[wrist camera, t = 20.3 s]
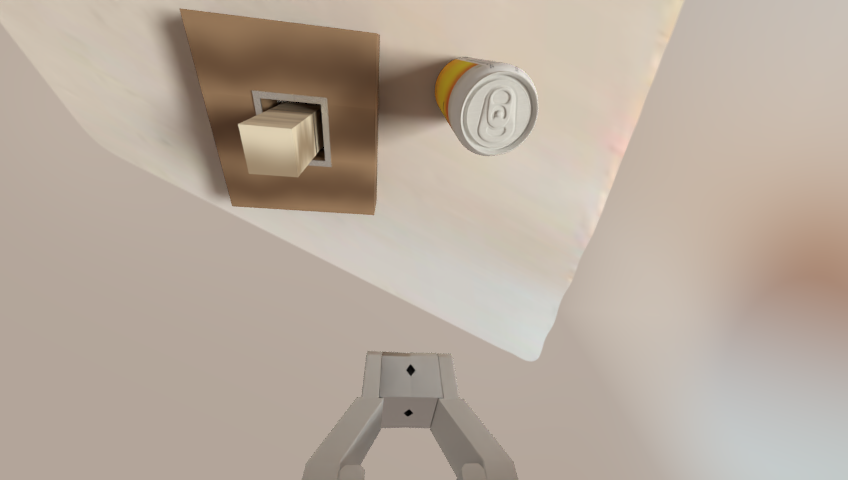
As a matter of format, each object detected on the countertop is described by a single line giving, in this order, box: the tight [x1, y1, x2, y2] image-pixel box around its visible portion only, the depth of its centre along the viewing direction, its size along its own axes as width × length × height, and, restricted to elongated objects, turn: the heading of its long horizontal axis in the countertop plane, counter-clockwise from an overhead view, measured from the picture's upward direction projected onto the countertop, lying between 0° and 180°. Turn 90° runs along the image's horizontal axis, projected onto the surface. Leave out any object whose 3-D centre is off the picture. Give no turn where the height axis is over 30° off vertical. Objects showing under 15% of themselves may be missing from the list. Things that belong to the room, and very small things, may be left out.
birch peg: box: [238, 102, 324, 177], centre depth 29 cm, size 4×4×11 cm
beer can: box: [435, 57, 538, 156], centre depth 26 cm, size 6×6×15 cm
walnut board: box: [180, 9, 380, 215], centre depth 32 cm, size 18×16×4 cm
